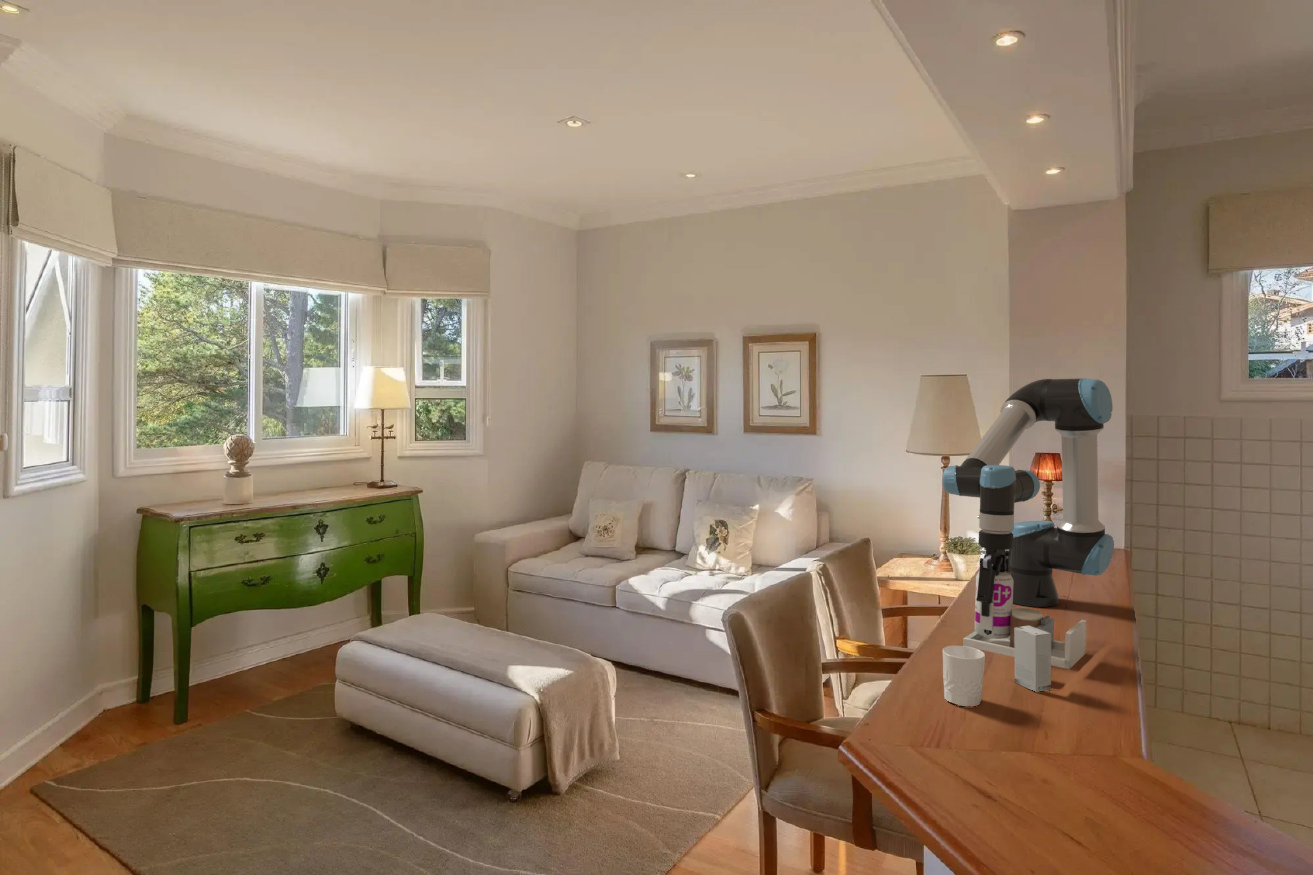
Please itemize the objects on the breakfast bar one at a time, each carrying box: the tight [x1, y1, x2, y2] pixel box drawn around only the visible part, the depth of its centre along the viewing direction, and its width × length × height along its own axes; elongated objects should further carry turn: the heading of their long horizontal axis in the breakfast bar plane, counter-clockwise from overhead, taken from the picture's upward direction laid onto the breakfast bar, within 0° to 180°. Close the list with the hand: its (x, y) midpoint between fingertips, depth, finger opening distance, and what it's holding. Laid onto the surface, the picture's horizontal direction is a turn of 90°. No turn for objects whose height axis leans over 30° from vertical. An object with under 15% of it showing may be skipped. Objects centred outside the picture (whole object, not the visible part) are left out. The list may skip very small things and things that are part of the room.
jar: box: [1009, 607, 1044, 648], centre depth 182 cm, size 7×7×9 cm
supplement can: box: [974, 569, 1014, 639], centre depth 187 cm, size 8×8×15 cm
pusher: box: [1037, 615, 1055, 650], centre depth 180 cm, size 10×1×8 cm, turn 138°
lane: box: [962, 619, 1087, 670], centre depth 183 cm, size 13×23×9 cm, turn 48°
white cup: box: [941, 645, 986, 706], centre depth 156 cm, size 8×8×10 cm
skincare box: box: [1014, 626, 1052, 693], centre depth 164 cm, size 6×4×12 cm
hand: (993, 624), depth 187 cm, fingers closed on supplement can, 8 cm apart
